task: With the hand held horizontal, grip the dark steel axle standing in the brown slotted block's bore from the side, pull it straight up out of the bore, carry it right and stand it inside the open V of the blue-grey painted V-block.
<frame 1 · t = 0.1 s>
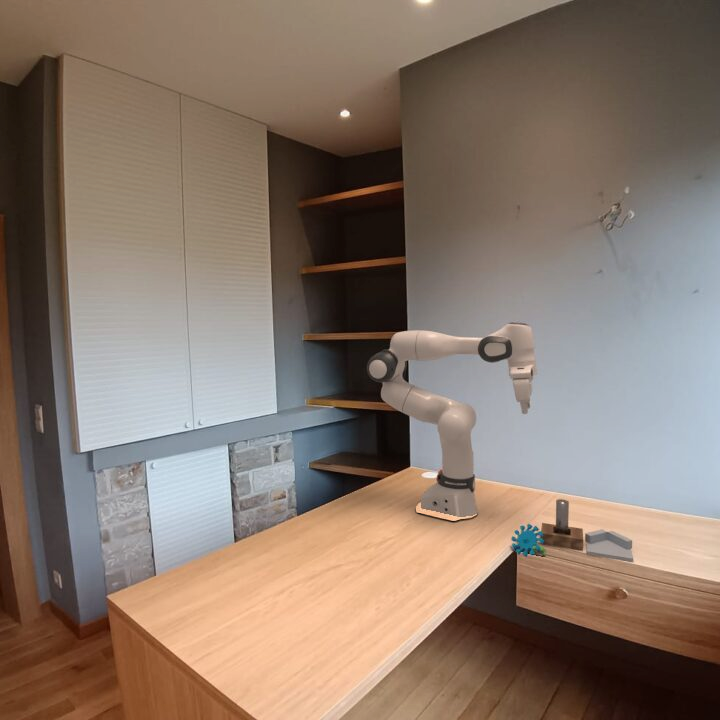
hand: (526, 410, 162), 39 cm above the table, tool pointing down, fingers open, 8 cm apart
brown slotted block: (561, 541, 151), on the table
v block: (608, 548, 145), on the table
blue spiky virus model: (528, 553, 144), on the table
axle: (562, 521, 150), in the brown slotted block
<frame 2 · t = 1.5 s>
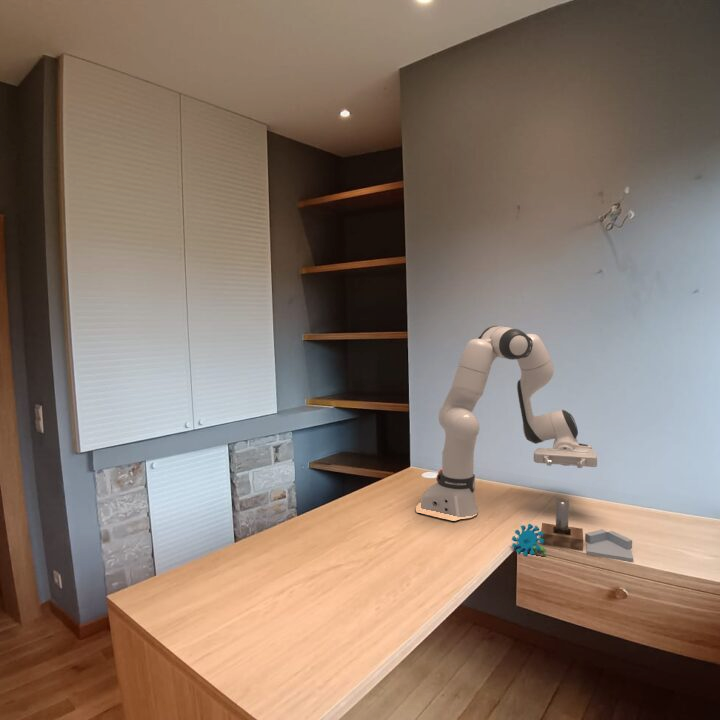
hand: (564, 464, 160), 21 cm above the table, tool horizontal, fingers open, 8 cm apart
nothing on the table moved.
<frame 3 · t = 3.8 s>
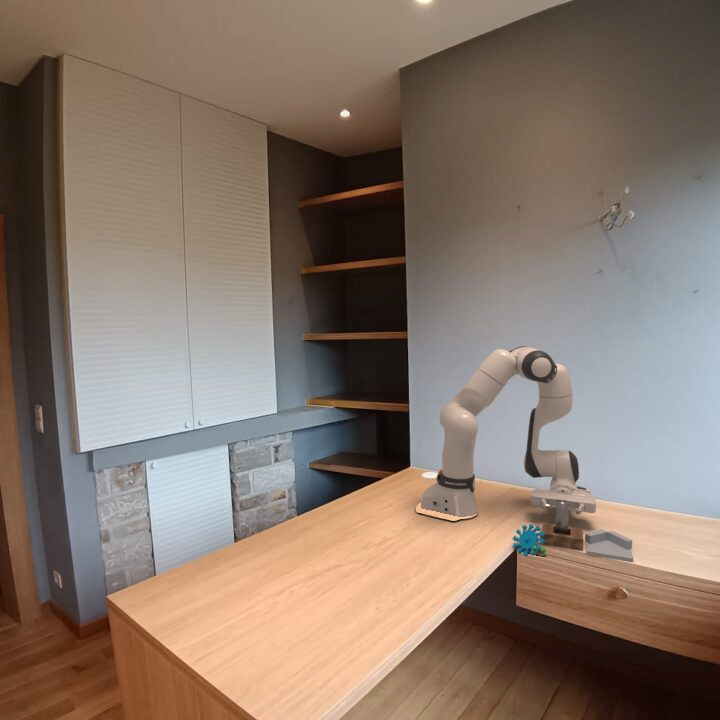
hand: (562, 509, 156), 8 cm above the table, tool horizontal, fingers open, 8 cm apart
nothing on the table moved.
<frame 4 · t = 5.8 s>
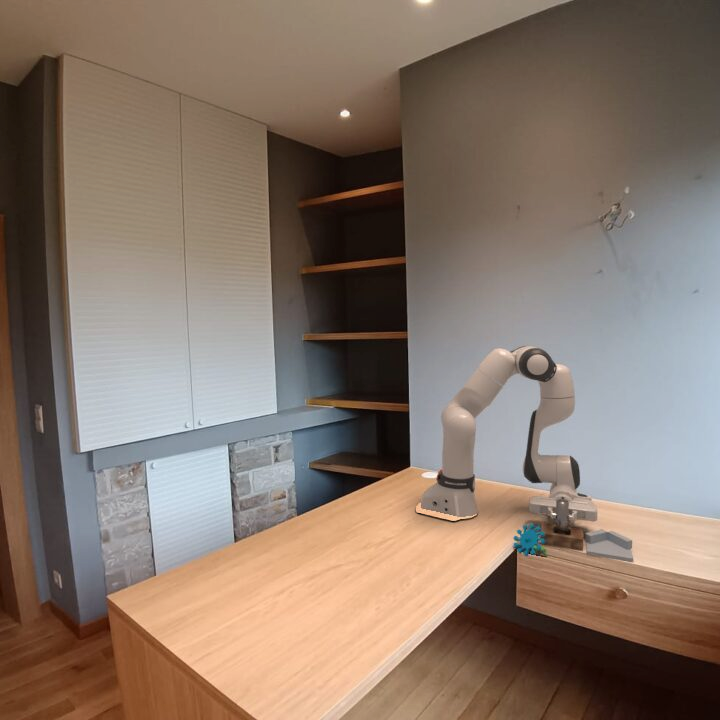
hand: (562, 518, 149), 8 cm above the table, tool horizontal, fingers closed on axle, 4 cm apart
axle: (562, 521, 150), in the brown slotted block, touching gripper
everything else where it was.
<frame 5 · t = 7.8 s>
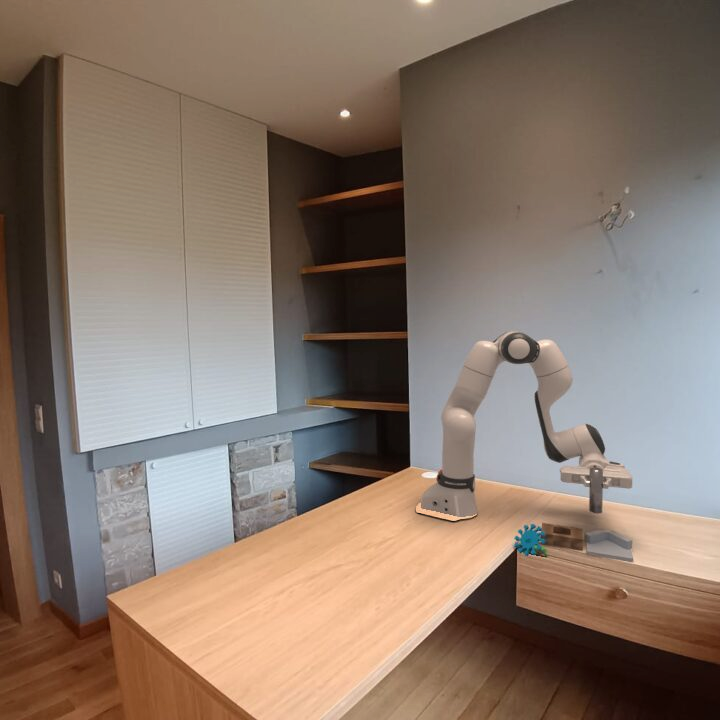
hand: (596, 485, 145), 20 cm above the table, tool horizontal, fingers closed on axle, 4 cm apart
axle: (595, 490, 146), point 18 cm above the table, touching gripper
everything else where it was.
when the fingers open (10 cm above the table, at t = 10.1 s): axle stays where it is, resting on v block.
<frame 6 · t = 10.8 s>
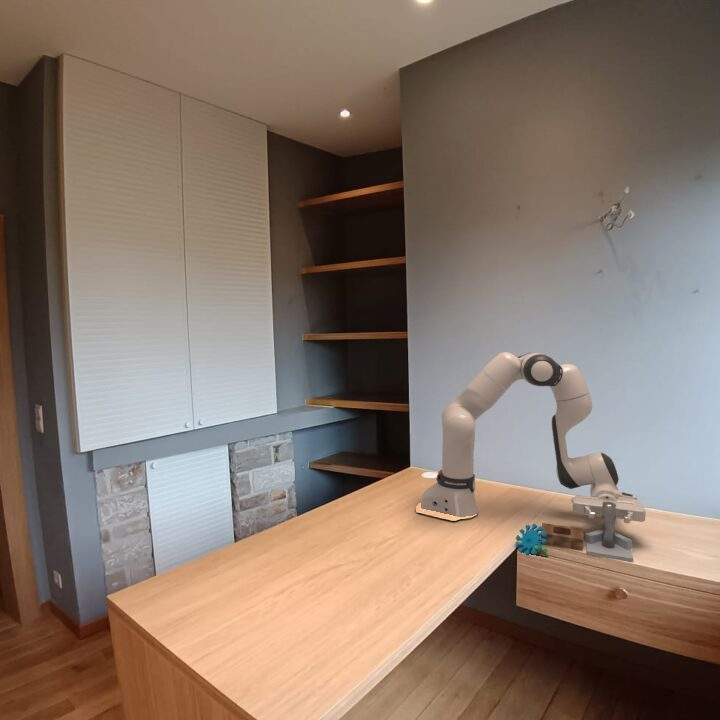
hand: (609, 518, 144), 10 cm above the table, tool horizontal, fingers open, 8 cm apart
axle: (608, 524, 145), point 8 cm above the table, touching v block
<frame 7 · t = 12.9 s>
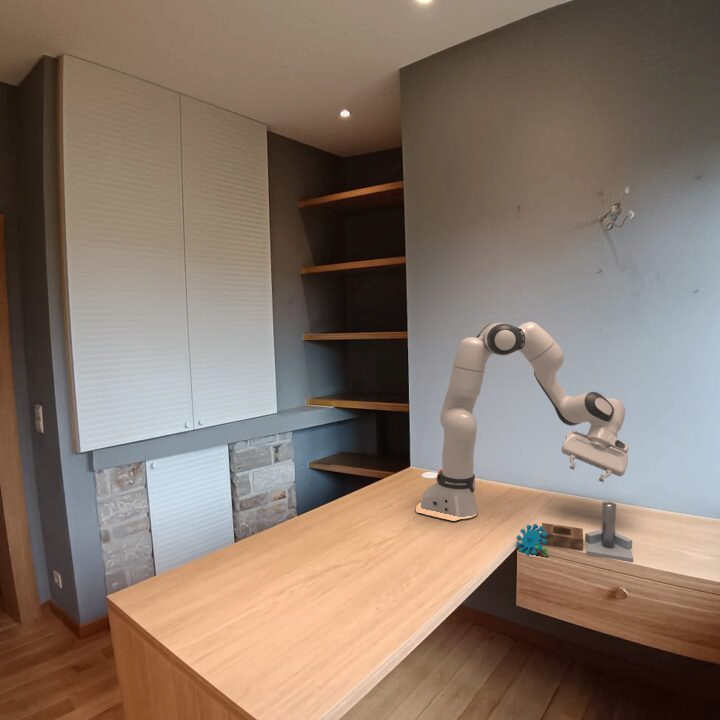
hand: (586, 474, 159), 18 cm above the table, tool tilted 45°, fingers open, 8 cm apart
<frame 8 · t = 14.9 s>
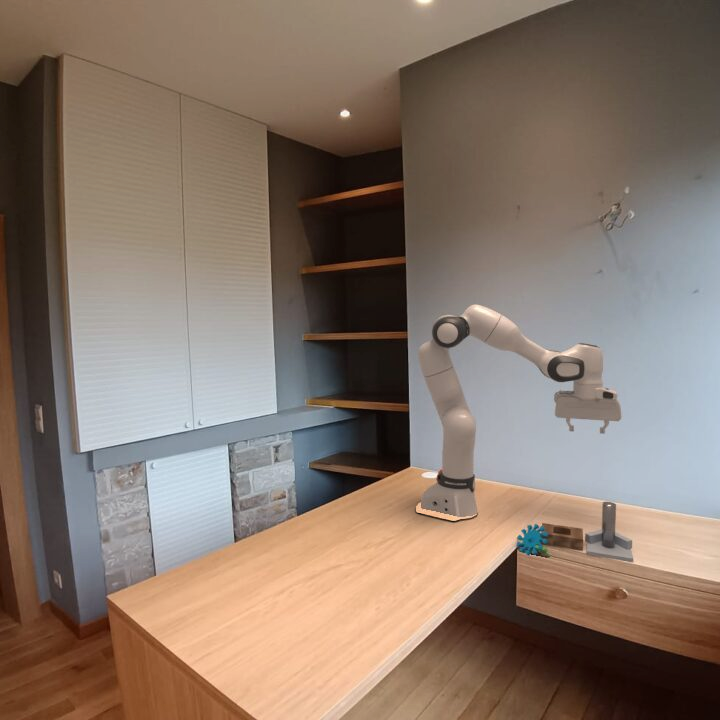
hand: (586, 432, 162), 31 cm above the table, tool pointing down, fingers open, 8 cm apart
at the end: axle 0.6 cm off-centre on the v block, point 7.5 cm above the v block's base; axle tilted 0°; the gripper is holding nothing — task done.
